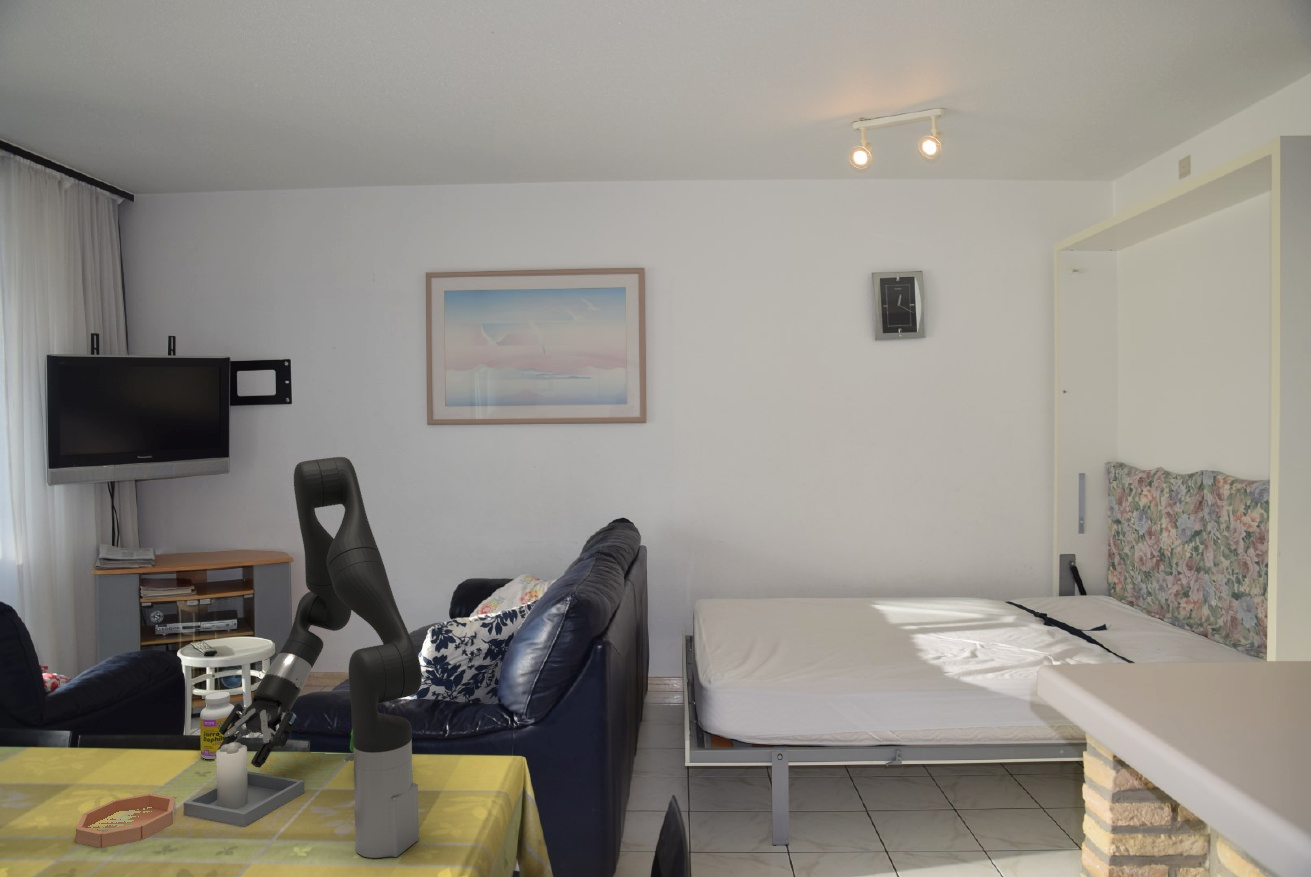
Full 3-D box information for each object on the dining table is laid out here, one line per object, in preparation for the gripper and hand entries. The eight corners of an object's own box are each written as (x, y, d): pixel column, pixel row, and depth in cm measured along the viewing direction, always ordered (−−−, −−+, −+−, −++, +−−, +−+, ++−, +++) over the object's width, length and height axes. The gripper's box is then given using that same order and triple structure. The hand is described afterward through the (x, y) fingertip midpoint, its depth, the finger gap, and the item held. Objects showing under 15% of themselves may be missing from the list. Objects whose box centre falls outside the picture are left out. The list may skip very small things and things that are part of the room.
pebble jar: (254, 800, 154) (252, 739, 153) (232, 812, 149) (230, 749, 149) (233, 796, 155) (232, 735, 155) (210, 808, 151) (209, 745, 150)
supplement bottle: (197, 763, 173) (195, 701, 172) (205, 751, 179) (203, 691, 179) (232, 759, 174) (231, 698, 174) (239, 747, 181) (238, 688, 181)
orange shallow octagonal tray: (193, 817, 149) (192, 801, 149) (119, 856, 136) (118, 838, 135) (135, 806, 153) (135, 790, 153) (59, 842, 140) (58, 825, 140)
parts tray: (304, 796, 157) (304, 780, 156) (244, 831, 143) (244, 814, 143) (246, 786, 161) (246, 771, 161) (183, 819, 148) (183, 802, 148)
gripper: (244, 669, 163) (195, 749, 153) (301, 676, 159) (255, 759, 148) (265, 687, 169) (220, 766, 158) (322, 695, 164) (279, 776, 153)
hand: (237, 762), depth 153 cm, fingers open, 8 cm apart
